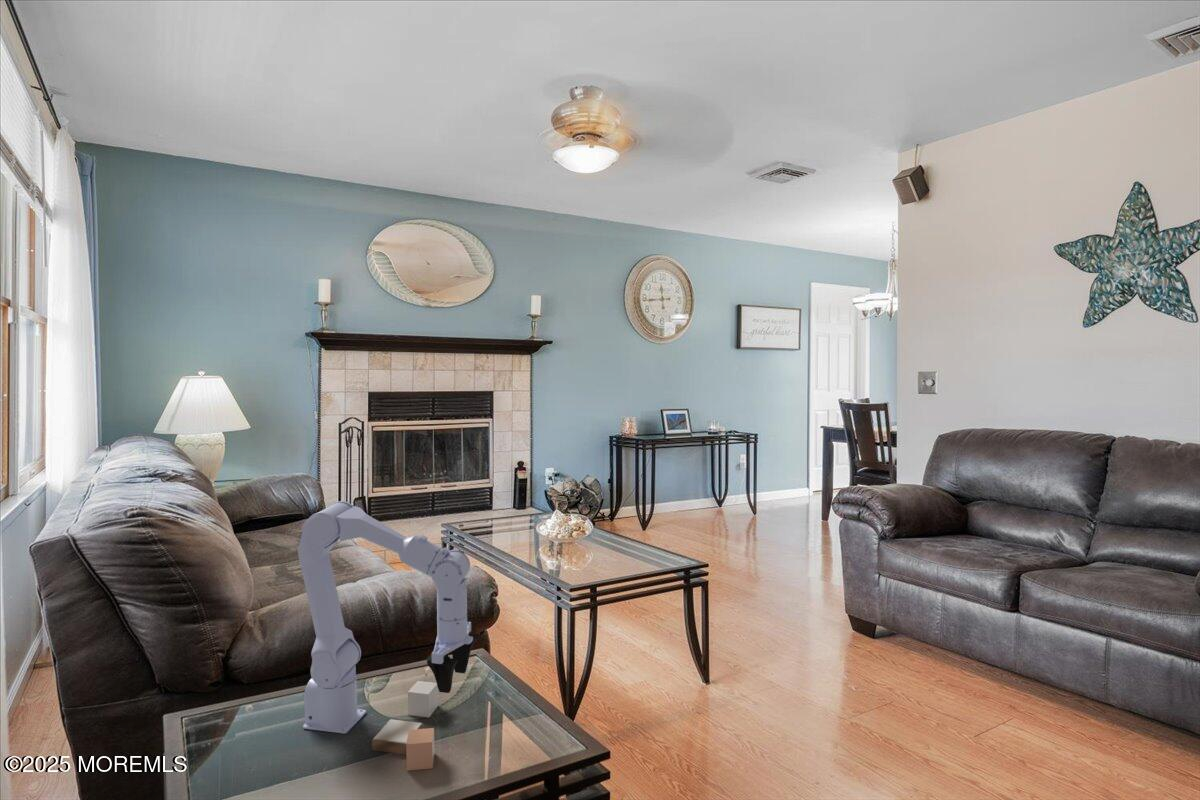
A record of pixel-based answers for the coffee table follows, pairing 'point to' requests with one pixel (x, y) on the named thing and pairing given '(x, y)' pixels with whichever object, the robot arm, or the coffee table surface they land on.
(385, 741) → the plinth
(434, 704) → the stone block
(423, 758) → the terracotta block
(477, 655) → the coffee table surface
